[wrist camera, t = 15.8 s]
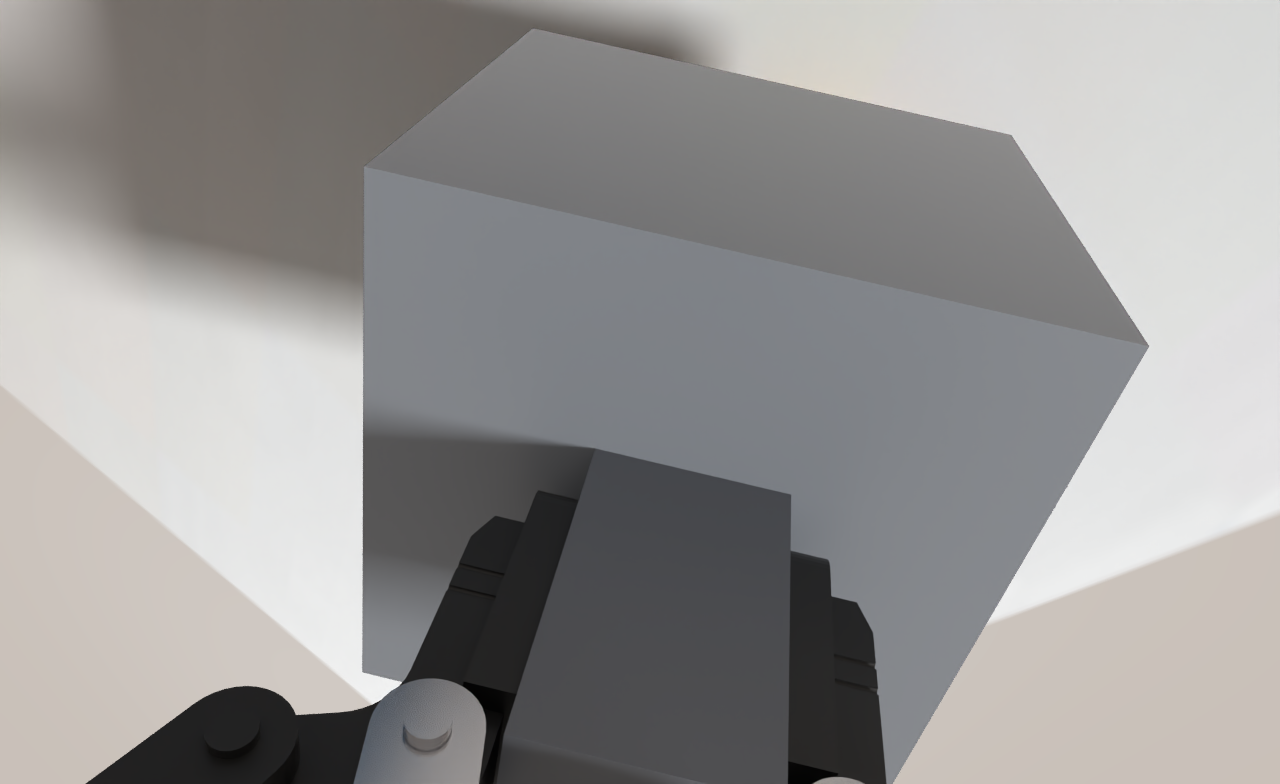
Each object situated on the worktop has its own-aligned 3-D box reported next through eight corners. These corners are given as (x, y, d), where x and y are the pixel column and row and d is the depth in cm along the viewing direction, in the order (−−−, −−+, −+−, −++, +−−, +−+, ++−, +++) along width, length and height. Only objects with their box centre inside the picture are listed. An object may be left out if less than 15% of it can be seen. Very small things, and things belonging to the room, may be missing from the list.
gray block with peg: (532, 27, 19) (118, 367, 7) (1011, 135, 19) (1352, 659, 7) (492, 415, 24) (223, 946, 13) (858, 501, 24) (910, 1120, 13)
